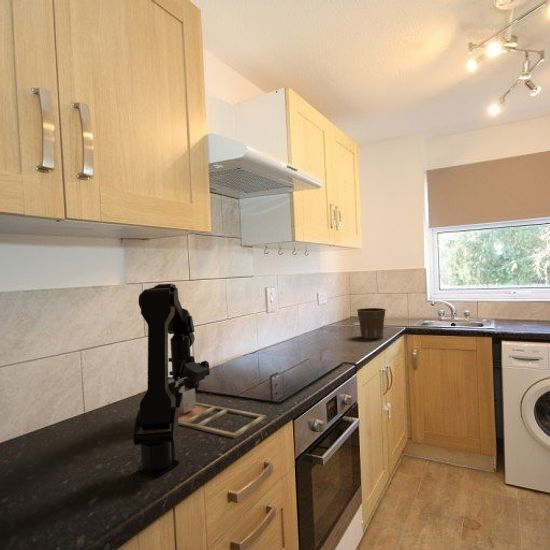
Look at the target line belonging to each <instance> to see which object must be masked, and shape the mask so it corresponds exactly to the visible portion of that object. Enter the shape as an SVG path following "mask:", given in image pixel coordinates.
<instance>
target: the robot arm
mask: <svg viewBox="0 0 550 550" xmlns="http://www.w3.org/2000/svg"><path fill="white" fill-rule="evenodd" d="M138 306H139V308H140V315H141V317H142V318H143V319H144V321H145V322H146V324H147V389H146V391H145V393H144V395H143V397H142V399H141V400H140V402H139V409H138V411H137V414H136V416H135V421H134V426H133V428H134V429H133V437H132V440H133V445H134V446H140V455H141V465H139V466H138V467H137V471H138V472H140V473H143V474H146V475H149V476H152V477H154V478H158V477H161V476H162V475H163V474H165V473H167V472H169V470H172V469H173V468H175V467H177V466H178V465H180V461H179V460H177V459H176V448H175V446H176V445H175V442H176V439H177V437H178V434H179V425H178V408H179V390H180V389H181V386H178V384H179V383H180V382H182V381H183V380H184V384H185V387H191V388H195V389H196V386H197V384H198V383H199V384H200V382H201V381H202V380H205V378H206V377H208V376H209V375H210V363H209V361H207V360H204V361H201V362H196V360H195V356H194V355H191V347H192V346H193V344H194V343H195V342H196V341H195V339H196V338H195V335H194V332H195V326H194V325H195V324H194V321H193V320H194V319H193V316H192V315H191V314H190V312H189V310H188V309H186V308H183V307H182V304H181V302H180V298H179V289H178V288H177V287H176V283H159V284H157V285H154V286H153V287H150V288H145V289H144V290H143V291H141V293H140V294H139V295H138ZM169 335H172V337H170V341H169ZM169 342H170V357H169ZM169 362H170V363H171V371H170V370H169ZM196 390H197V389H196ZM161 430H166V431H161ZM169 430H170V431H169ZM148 431H155V432H148ZM144 432H145V433H144Z"/></svg>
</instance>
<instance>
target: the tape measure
mask: <svg viewBox="0 0 550 550" xmlns="http://www.w3.org/2000/svg"><path fill="white" fill-rule="evenodd" d="M178 386H181V387H182V386H185V384H184V380H181V381H180V382H178ZM199 388H200V382H199V383H198V384H197V386H196V389H195V391H196V390H198V389H199Z"/></svg>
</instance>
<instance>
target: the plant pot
mask: <svg viewBox="0 0 550 550" xmlns="http://www.w3.org/2000/svg"><path fill="white" fill-rule="evenodd" d="M356 311H357V317H358V321H359V322H358V323H359V328H360V338H362V339H365V340H375V339H377V340H379V339H383V338H384V329H385V328H384V327H385V316H386V311H387V310H386V308H379V307H367V308H357V309H356Z"/></svg>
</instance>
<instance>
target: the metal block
mask: <svg viewBox="0 0 550 550" xmlns="http://www.w3.org/2000/svg"><path fill="white" fill-rule="evenodd" d="M196 402H197V400H196V390H195V388H191V387H185V386H182V387H181V389H180V390H179V408H178V412H181V413H186V412H188V411H190V410H192V409H194V408H196Z"/></svg>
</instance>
